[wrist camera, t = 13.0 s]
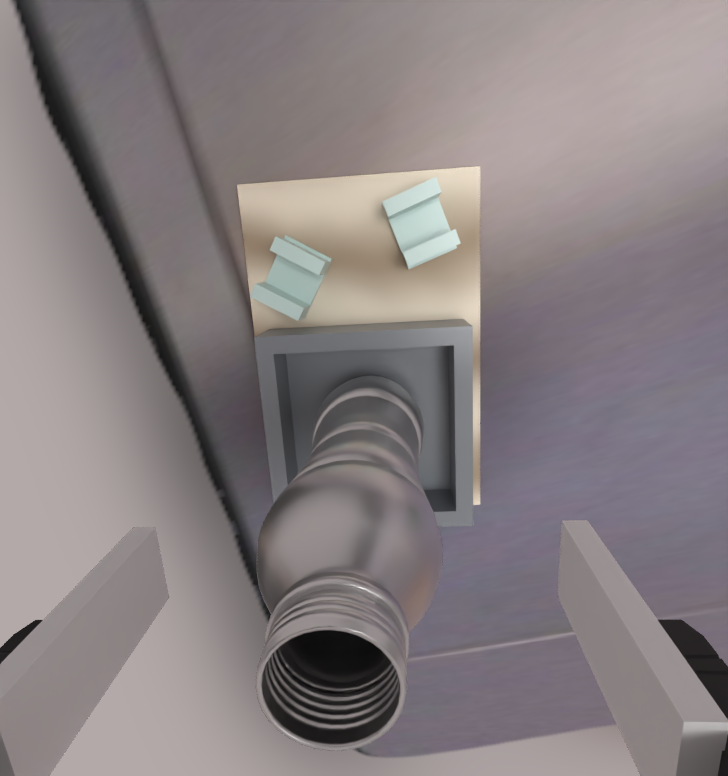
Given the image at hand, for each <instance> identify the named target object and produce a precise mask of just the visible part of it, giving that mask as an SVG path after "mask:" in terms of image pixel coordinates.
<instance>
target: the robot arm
mask: <svg viewBox="0 0 728 776" xmlns="http://www.w3.org/2000/svg"><path fill="white" fill-rule="evenodd" d="M168 598H169V594H168V589H167V584H166V579H165V574H164V569H163V564H162V559H161V554H160V549H159V544H158V539H157V534H156V529H155V527H134V528H132V529H131V530H130V531H129V532H128V533H127V534H126V535H125V536H124V537H123V538H122V539H121V541H120V542H119V543H118V544H117V545H116V546H115V547H114V548H113V549H112V550H111V551H110V552H109V553H108V554H107V555H106V556H105V557H104V558H103V559H102V560H101V561H100V562H99V563H98V564H97V565H96V566H95V567H94V568H93V569H92V570H91V571H90V572H89V573H88V574H87V575H86V576H85V577H84V578H83V580H82V581H81V582H80V583H79V584H78V585H77V586H76V587H75V588H74V589H73V590H72V591H71V592H70V593H69V594H68V595H67V596H66V597H65V598H64V599H63V600H62V601H61V602H60V603H59V604H58V605H57V606H56V607H55V608H54V609H53V610H52V611H51V613H49V614H48V615H47V617H46V618H45V619H44V620H35V621H33V622H32V623H30V624H29V625H27V626H26V627H25V628H23V629H21V630H20V631H19V632H17V633H15V634H14V635H13V636H12V637H11V638H10V639H9V640H8V641H7V642H6V643H5V644H4V645H3V646H2V647H1V648H0V776H49V775H50V774H51V772H52V771H53V770H54V768H55V767H56V765H57V763H58V762H59V760H60V759H61V758H62V756H63V755H64V753H65V752H66V750H67V749H68V747H69V746H70V744H71V743H72V741H73V740H74V738H75V737H76V735H77V734H78V732H79V731H80V729H81V728H82V726H83V725H84V723H85V722H86V720H87V719H88V717H89V716H90V714H91V713H92V711H93V710H94V708H95V707H96V705H97V704H98V703H99V701H100V700H101V698H102V697H103V695H104V694H105V692H106V691H107V689H108V688H109V686H110V685H111V683H112V681H113V680H114V679H115V677H116V675H117V674H118V673H119V671H120V670H121V668H122V667H123V665H124V664H125V662H126V661H127V659H128V658H129V656H130V655H131V653H132V652H133V650H134V649H135V647H136V646H137V644H138V643H139V641H140V640H141V638H142V637H143V635H144V634H145V633H146V631H147V630H148V628H149V627H150V625H151V624H152V622H153V621H154V619H155V617H156V616H157V615H158V613H159V612H160V610H161V609H162V607H163V606H164V604H165V603H166V601H167V600H168ZM558 598H559V600H560V602H561V605H562V607H563V609H564V611H565V613H566V615H567V618H568V620H569V622H570V624H571V626H572V628H573V631H574V633H575V635H576V637H577V639H578V641H579V644H580V646H581V648H582V650H583V652H584V654H585V657H586V659H587V661H588V663H589V665H590V667H591V670H592V672H593V674H594V676H595V678H596V680H597V683H598V685H599V687H600V689H601V691H602V693H603V696H604V698H605V700H606V702H607V704H608V706H609V709H610V711H611V713H612V715H613V717H614V719H615V722H616V724H617V726H618V728H619V730H620V732H621V735H622V737H623V739H624V741H625V743H626V745H627V748H628V750H629V752H630V754H631V756H632V758H633V761H634V763H635V765H636V767H637V769H638V771H639V774H640V776H728V666H727V665H726V664H725V663H724V661H723V660H722V659H719V657H718V654H717V653H716V651H715V650H714V649H713V648H712V646H711V645H710V644H709V643H708V641H707V640H706V639H705V638H704V636H703V635H701V634H700V633H699V632H697V631H696V630H695V629H693V628H692V627H691V626H689V625H688V624H686V623H685V622H684V621H682V620H657V619H656V617H655V616H654V614H653V613H652V611H651V610H650V609H649V607H648V606H647V604H646V603H645V601H644V600H643V599H642V597H641V596H640V594H639V593H638V592H637V590H636V589H635V587H634V586H633V584H632V583H631V582H630V580H629V579H628V577H627V576H626V574H625V573H624V572H623V570H622V569H621V567H620V566H619V565H618V563H617V562H616V560H615V559H614V557H613V556H612V555H611V553H610V552H609V550H608V549H607V548H606V546H605V545H604V543H603V542H602V540H601V539H600V538H599V536H598V535H597V533H596V532H595V530H594V529H593V528H592V526H591V525H590V523H589V522H588V521H587V520H576V521H562V525H561V543H560V562H559V580H558Z"/></svg>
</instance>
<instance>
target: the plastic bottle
mask: <svg viewBox="0 0 728 776" xmlns="http://www.w3.org/2000/svg"><path fill="white" fill-rule="evenodd" d="M423 438H424V422H423V418H422V414H421V412H420V410H419V407H418V405H417V403H416V402H415V401H414V399H413V398H412V397H411V395H410V394H409V393H408V392H407V391H406V390H405V389H404V388H403V387H401V386H400V385H399V384H397V383H395V382H394V381H392V380H390V379H387V378H384V377H379V376H361V377H357V378H354V379H351V380H349V381H347V382H345V383H343V384H341V385H340V386H338V387H337V388H336V389H334V390H333V391H332V392H331V393H329V395H328V396H327V397H326V398H325V399H324V400H323V402H322V404H321V405H320V407H319V409H318V411H317V414H316V417H315V420H314V426H313V435H312V450H311V454H310V456H309V458H308V460H307V462H306V463H305V465H304V467H303V468H302V470H301V471H300V472H299V473H298V474H297V475H296V477H295V478H294V479H293V480H292V481H291V482H290V484H289V485H288V486H287V487H286V488H285V489H284V490H283V492H282V493H281V494H280V495H279V496H278V498H277V500H276V501H275V503H274V504H273V506H272V507H271V509H270V511H269V512H268V514H267V516H266V518H265V520H264V521H263V524H262V527H261V531H260V534H259V537H258V548H257V575H258V583H259V588H260V591H261V593H262V596H263V599H264V602H265V604H266V605H267V607H268V609H269V611H270V613H271V616H270V619H269V622H268V625H267V628H266V634H265V646H264V649H263V652H262V655H261V658H260V661H259V664H258V668H257V677H256V692H257V699H258V701H259V704H260V706H261V709H262V711H263V713H264V714H265V716H266V717H267V719H268V720H269V721H270V723H271V724H272V725H273V726H274V727H275V728H276V729H277V730H278V731H280V732H281V733H282V734H284V735H285V736H286V737H288V738H289V739H292V740H293V741H295V742H297V743H299V744H301V745H305V746H308V747H311V748H314V749H321V750H328V751H335V750H337V751H340V750H348V749H354V748H358V747H361V746H364V745H367V744H369V743H371V742H373V741H375V740H376V739H378V738H380V737H381V736H383V735H384V734H385V733H386V732H387V731H388V730H389V729H391V728H392V726H393V725H394V724H395V722H396V721H397V720H398V718H399V716H400V714H401V712H402V710H403V707H404V703H405V698H406V692H407V670H406V663H407V660H408V655H409V632H410V631H411V630H412V629H413V628H414V627H415V626H416V625H417V624H418V623H419V621H420V620H421V619H422V617H423V616H424V614H425V613H426V612H427V610H428V609H429V607H430V604H431V602H432V600H433V598H434V595H435V593H436V589H437V586H438V583H439V580H440V575H441V570H442V565H443V543H442V539H441V535H440V531H439V527H438V524H437V521H436V517H435V514H434V512H433V510H432V508H431V505H430V503H429V501H428V499H427V497H426V494H425V492H424V490H423V488H422V485H421V482H420V478H419V473H418V459H419V456H420V454H421V449H422V444H423Z"/></svg>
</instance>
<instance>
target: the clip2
mask: <svg viewBox="0 0 728 776" xmlns="http://www.w3.org/2000/svg"><path fill="white" fill-rule="evenodd" d="M270 251H272V252H274V253H276V254H277V256H276V258H275V260H274V263H273V265H272V267H271V270H270V272H269V274H268V277H267V279H266V281H265V282H262V283H256V284H255V286H254V288H253V290H252V293H251V295H250V297H252V298H254V299H256V300H258V301H260V302H262V303H263V304H265V305H267V306H269V307H271V308H273V309H275V310H277V311H279V312H281V313H283V314H285V315H287V316H289V317H291V318H293V319H295V320H297V321H299V320H300V319H303V320H304V319H305V318H306V316H307V314H308V311H309V309H310V307H311V305H312V303H313V301H314V298H315V296H316V294H317V292H318V290H319V288H320V286H321V283H322V281H323V279H324V277H325V275H326V273H327V270H328V268H329V266H330V264H331V262H332V260H333V259H332V258H330V257H328V256H326V255H324V254H322V253H320V252H318V251H316V250H315V249H313V248H311V247H309V246H307V245H305V244H303V243H301V242H299V241H297V240H295V239H293V238H291V237H289V236H287V235H285V237H284V238H281V237H276V236H275V239H274V241H273V243H272V246H271V248H270Z"/></svg>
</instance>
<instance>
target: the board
mask: <svg viewBox="0 0 728 776" xmlns="http://www.w3.org/2000/svg"><path fill="white" fill-rule="evenodd" d="M434 177H436V178H437V180H438V183H439V186H440V189H441V191H442V192H441V194H440V195H439V197H438V198H439V201H440V204H441V206H442V209H443V212H444V214H445V217H446V220H447V222H448V225H449V228H450V230H451V231H452V230H454V229H456V232H457V234H458V237H459V240H460V242H461V244H458V245H456V246H457V248H456V249H454V250H452V251H450V252H447V253H445V254H443V255H441V256H438V257H436V258H434V259H431V260H429V261H427V262H425V263H422V264H420V265H418V266H416V267H413V268H411V269H408V267H407V265H406V262H405V260H404V257H403V255H402V252H401V250H400V247H399V245H398V242H397V240H396V237H395V235H394V232H393V230H392V227H391V225H390V222H389V220H388V217H387V215H386V212H385V210H384V207H383V205H382V203H383V201H385V200H387V199H389V198H392V197H394V196H396V195H398V194H400V193H402V192H404V191H407V190H409V189H411V188H413V187H415V186H417V185H419V184H422V183H424V182H426V181H428V180H430V179H432V178H434ZM237 189H238V198H239V206H240V215H241V223H242V232H243V241H244V249H245V258H246V266H247V275H248V283H249V292H250V295H251V293H252V290H253V288H254V286H255V284H256V283H262V282H265V281H266V279H267V277H268V274H269V272H270V270H271V267H272V265H273V263H274V260H275V258H276V256H277V254H276V253H274V252H272V251H270V248H271V246H272V243H273V241H274V239H275V236H276V237H281V238H284V237H285V235H287V236H289V237H291V238H293V239H295V240H297V241H299V242H301V243H303V244H305V245H307V246H309V247H311V248H313V249H315V250H316V251H318V252H320V253H322V254H324V255H326V256H328V257H330V258H332V259H333V260H332V262H331V264H330V266H329V268H328V270H327V273H326V275H325V277H324V279H323V281H322V283H321V286H320V288H319V290H318V292H317V294H316V296H315V298H314V301H313V303H312V305H311V307H310V309H309V311H308V314H307V316H306V318H305V319H304V320H303V319H300V320H299V321H297V320H295V319H293V318H291V317H289V316H287V315H285V314H283V313H281V312H279V311H277V310H275V309H273V308H271V307H269V306H267V305H265V304H263V303H262V302H260V301H258V300H256V299H254V298H252V297H250V300H251V309H252V317H253V326H254V334H255V336H257V335H259V334H261V333H263V332H265V331H267V330H269V329H278V328H297V327H316V326H335V325H354V324H373V323H392V322H411V321H430V320H449V319H464V320H466V321H467V322H468V323H469V324H471V325H472V326H473V505H480V166H476V167H463V168H449V169H436V170H423V171H410V172H397V173H384V174H370V175H357V176H344V177H331V178H318V179H304V180H291V181H278V182H265V183H252V184H238V185H237Z"/></svg>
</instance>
